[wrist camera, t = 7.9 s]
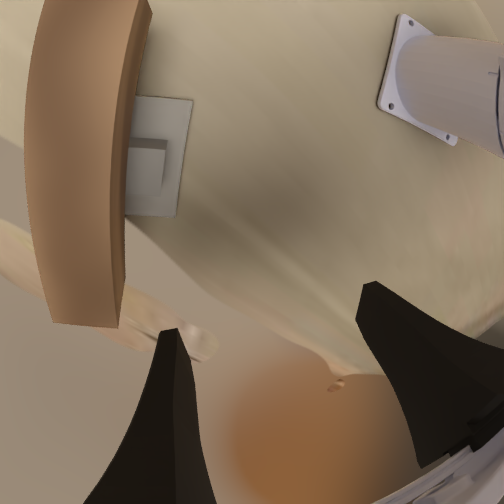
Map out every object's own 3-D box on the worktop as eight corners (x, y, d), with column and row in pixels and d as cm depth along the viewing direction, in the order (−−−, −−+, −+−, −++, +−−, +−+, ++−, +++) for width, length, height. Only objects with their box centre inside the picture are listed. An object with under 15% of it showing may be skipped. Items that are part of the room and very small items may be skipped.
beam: (152, 13, 9) (142, -12, 5) (125, 276, 16) (117, 328, 12) (80, 15, 8) (45, -3, 4) (70, 273, 15) (53, 322, 11)
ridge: (192, 100, 14) (195, 104, 12) (175, 212, 18) (175, 238, 15) (44, 96, 11) (19, 102, 9) (44, 205, 15) (25, 229, 12)
